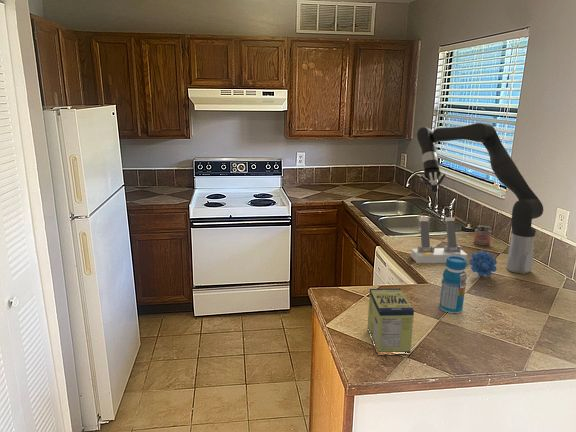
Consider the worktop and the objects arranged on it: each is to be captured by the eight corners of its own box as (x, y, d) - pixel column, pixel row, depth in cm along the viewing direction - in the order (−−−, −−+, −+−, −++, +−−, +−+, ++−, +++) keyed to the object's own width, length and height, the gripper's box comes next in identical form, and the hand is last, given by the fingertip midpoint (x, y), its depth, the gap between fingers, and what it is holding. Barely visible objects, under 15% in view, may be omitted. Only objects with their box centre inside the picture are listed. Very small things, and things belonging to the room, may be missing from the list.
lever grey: (456, 251, 208) (453, 217, 210) (457, 251, 206) (455, 217, 209) (447, 251, 208) (444, 217, 210) (448, 251, 206) (446, 217, 208)
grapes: (469, 279, 186) (473, 253, 183) (466, 273, 192) (469, 247, 189) (498, 281, 184) (502, 255, 181) (493, 274, 191) (497, 249, 187)
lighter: (473, 243, 230) (475, 225, 227) (473, 241, 233) (476, 224, 230) (489, 245, 226) (492, 227, 224) (489, 244, 229) (492, 226, 226)
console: (458, 255, 213) (459, 242, 211) (466, 262, 204) (468, 249, 203) (410, 256, 212) (411, 243, 210) (416, 263, 203) (418, 250, 201)
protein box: (396, 329, 147) (400, 287, 143) (410, 355, 132) (415, 310, 128) (366, 329, 147) (369, 287, 142) (377, 356, 132) (380, 310, 127)
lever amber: (429, 251, 207) (427, 218, 210) (431, 251, 205) (428, 217, 208) (420, 251, 207) (418, 218, 210) (422, 251, 205) (419, 217, 208)
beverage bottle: (441, 313, 157) (447, 262, 151) (436, 302, 165) (442, 254, 160) (465, 315, 156) (472, 264, 150) (459, 304, 164) (465, 255, 158)
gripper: (418, 160, 221) (422, 190, 215) (444, 157, 219) (449, 188, 213) (416, 166, 228) (420, 196, 222) (442, 164, 226) (447, 194, 220)
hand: (434, 192), depth 217 cm, fingers closed
